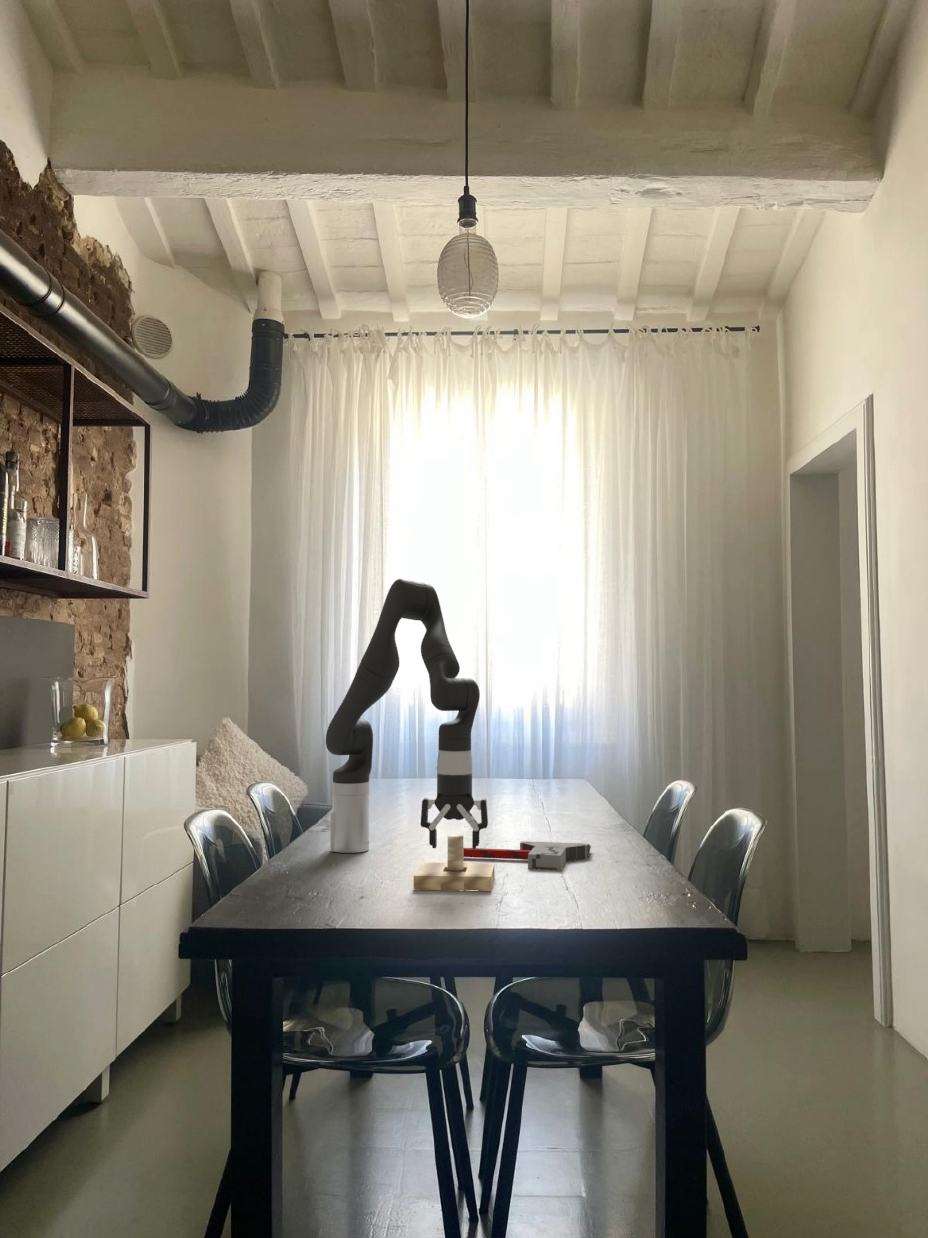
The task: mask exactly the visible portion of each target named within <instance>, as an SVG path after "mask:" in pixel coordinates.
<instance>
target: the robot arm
mask: <svg viewBox="0 0 928 1238" xmlns="http://www.w3.org/2000/svg"><path fill="white" fill-rule="evenodd" d="M438 596H439V595H438V593H437V591H436V589H435V588H434V586H433V585H431V584H429V583H426V582H423V581H417V580H413V579H406V578H398V579H396V580H394V582H393V583H392V584H391V586H390V588H389V589H388V591H387V594H386V598H385V601H384V603H383V607H382V609H381V611H380V615H379V619H378V620H377V624H376V627H375V629H374V631H373V634H372V636H371V638H370V641H369V643H368V645H367V647H366V649H365V652H364V654H363V656H362V658H361V660H360V663H359V665H358V667H357V670H356V672H355V674H354V676H353V679H352V682H351V684H350V686H349V688H348V690H347V692H346V695H345V696H344V698H343V700H342V702H341V703H340V705H339V706H338V708H337V711H336V712H335V714H334V715H333V717H332V719H331V721H330V723H329V725H328V727H327V730H326V734H325V746H326V749H327V751H328V752H329V753H330V754H332V755H333V756H348V759H347V760H346V762H345V763H344V764H342V766H339V767H338V768H336V769H334V771H333V773H332V812H331V813H330V829H329V830H330V843H329V845H330V847H329V849H330V852H333V853H334V852H335V853H342V854H344V853H345V854H346V853H347V854H354V853H364V852H367V851H369V849H370V774H371V771H372V765H373V752H374V751H373V748H374V733H373V729H372V725H371V723H370V722H369V721H368V719H366V718H361V717H362V716H363V715H364V713H366V711H367V710H368V709H370V708H371V707H372V706H373V705H374V704H376V703H377V702H378V701H379V700H380V699H381V698H383V696H384V695H385V694H386V693H388V691H389V690H390V689H391V686H392V684H393V682H394V680H395V679H396V675H397V674H398V671H399V668H400V655H399V651H398V647H397V643H396V632H397V631H396V630H397V628H398V625H399V623H400V621H401V620H402V619H404V620H412V621H420V622H421V623H422V624H423V625H424V627H425V633H424V636H423V638H422V641H421V644H420V654H421V658H422V661H423V664H424V667H425V669H426V672H427V674H428V678H429V687H430V688H429V689H430V692H429V693H430V694H429V696H430V701H431V704H432V705H433V707H434V708H436V709H437V710H438V711H441V712H455V711H456V712H457V715H456V717H455V718H454V719H453V720H451V721H446V722H443V723H441V724H440V725H439V728H438V749H437V751H438V754H437V759H436V760H437V761H436V780H437V781H436V798H435V799H434V798H428V797H424V798H423V799H422V801H421V812H420V813H421V814H420V826H421V828H426V829H427V830H428V831H429V832H428V833H429V836H428V837H429V838H428V839H429V840H428V842H429V843H428V844H429V846H431V847H432V849H437V844H438V843H437V842H438V837H437V835H438V830H437V828H436V827H437V826H438V825H439V823H440V822H441V821H442V820H443V819H445V820H448V821H449V820H457V821H462V820H464V819H465V821H466V822H467V824H469V826H470V827H471V829H472V834H471V835H472V839H471V841H472V844H471V845H472V847H471V848H472V849H476V848H477V847H479V845H480V831H481V830H483V829H487V827H488V825H489V820H488V819H489V817H488V816H489V815H488V800H487V799H486V798H482V799H474V798H473V756H472V732H473V731H472V730H473V725H474V721H475V717H476V713H477V709H478V707H479V702H480V694H481V693H480V688H479V687H480V686H478V684H477V682H476V680H474V679H472V678H468V677H458V675H459V673H460V669H461V668H460V664H459V660H458V659H457V656H456V654H455V651H454V650H453V648H452V645H451V643H450V641H449V638H448V634H447V631H446V627H445V622H444V616H443V612H442V608H441V604H440V600H439V597H438ZM433 805H434V806H435V807H436V809H437V811H438V812H439V813H438V814H437V815H436V817H435V818H434V819H433V821H431V822H430V821H429V810H430V809H432V807H433ZM474 806H476V807H477V808H476V809H477V810H478V811H480V817H481V821H480V822H478V821H477V820H476V819H475V816H474V815H473V814H472V812H471V810H472V808H473V807H474Z"/></svg>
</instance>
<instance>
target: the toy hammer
mask: <svg viewBox="0 0 928 1238" xmlns="http://www.w3.org/2000/svg"><path fill="white" fill-rule="evenodd" d="M591 849H592V845H591V844H590V843H587V842H586V843H583V842H581V843H580V842H559V841H558V842H556V841H555V842H554V841H552V842H551V841H527V840H526V841H525V840H524V841H520V842H519V849H505V848H504V849H503V848H480V847H479V848H477V847H476V849H472V847H463V851H464V858H477V859H478V858H482V859H505V860H508V859H509V860H527V869H528V870H538V869H540V870H541V871H562V869H563V867H564V866H565V864H566V863H567V862H574V861H575V862H576V861H583V860H588V859H589V857H590V852H591Z"/></svg>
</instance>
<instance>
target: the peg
mask: <svg viewBox="0 0 928 1238" xmlns="http://www.w3.org/2000/svg"><path fill="white" fill-rule="evenodd" d="M463 848H464V835H460V834H450V835H447V863H448V868H447V871H448V872H464V863H465V862H464V858H465V857H464V851H463Z"/></svg>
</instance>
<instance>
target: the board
mask: <svg viewBox="0 0 928 1238" xmlns="http://www.w3.org/2000/svg"><path fill="white" fill-rule="evenodd" d="M447 868H448V862H423V861H422V862H421V863H420V865H419V867H418V868H417V870H416V871H415V872H414V874H413V890H414V889H415V890H414V891H419V890H478V891H477V892H481V891H491V892H492V890H491V889H493V886H492V885H494V881H495V877H496V875H495V863H494V862H493V863H489V862H488V863H486V862H483V863H481V862H479V863H478V862H468V863H467V862H464V872H448V871H447Z"/></svg>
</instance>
